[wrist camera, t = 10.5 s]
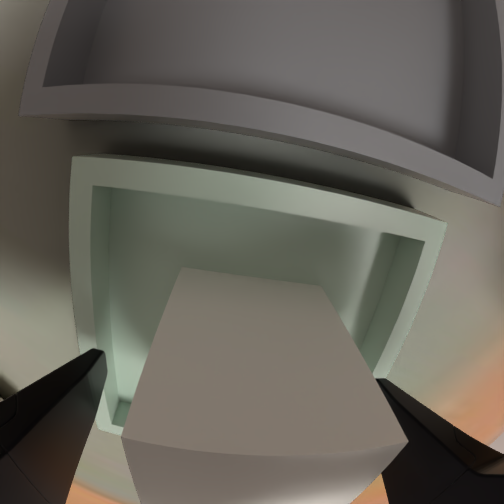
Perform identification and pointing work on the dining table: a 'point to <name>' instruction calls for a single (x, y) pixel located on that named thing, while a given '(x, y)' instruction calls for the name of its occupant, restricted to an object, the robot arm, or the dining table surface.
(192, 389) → the block
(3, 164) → the dining table surface
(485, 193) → the gray square tray
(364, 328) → the holder
